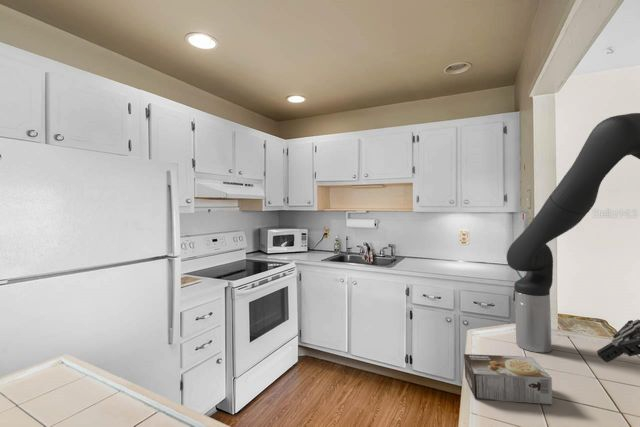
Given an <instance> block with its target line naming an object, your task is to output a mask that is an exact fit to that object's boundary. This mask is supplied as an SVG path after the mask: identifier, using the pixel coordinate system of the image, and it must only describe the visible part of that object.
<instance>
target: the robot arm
mask: <svg viewBox="0 0 640 427" xmlns="http://www.w3.org/2000/svg"><path fill="white" fill-rule="evenodd" d="M626 156H633V157H634V158H637V159H638V160H640V112H634V113H633V112H632V113H625V114H618V115H614V116H610V117H607V118H605V119H603V120H602V121H600V122H599V123H597V125H595V127H594V128H592V131H591V132H590V133H589V135H588V137H587V139H586V141H585V142H584V144H583V145H582V147H581V150H580V151H579V153H578V155H577V157H576V159H575V160H574V162H573V163H572V165H571V166H570V167H569V169H568V171H567V172H565V175H564V176H563V178H562V179H561V180H560V181H559V183H558V185H557V186H556V187H555V189H554V190H553V191H552V192H551V194H550V195H549V196H548V197H547V199H546V200H545V201H544V203H543V205H542V206H541V208H540V209H539V210H538V213H537V214H536V215H535V216H534V217H533V219H532V220H531V222H530V223H529V224H528V226H527V227H526V228H525V229H524V230H523V231H522V232H521V234H520V235H519V236H518V237H517V238H516V239H515V240H514V241H513V242H512V244H510V246H509V247H508V250H507V253H506V262H507V265H508V266H509V267H510V268H511V269H512V270H514V271H516V272H517V271H518V272H526V273H525V275H524V276H523V277H521V278H519V279H518V280H516V281H515V282H514V284H513V286H514V287H513V288H514V306H515V308H514V309H515V310H514V312H515V314H514V315H515V341H516V342H515V344H516V345H517V346H518V347H519V348H521V349H524V350H527V351H530V352H535V353H544V354H545V353H549V352H552V349H553V348H552V320H551V319H552V317H551V314H552V313H551V312H552V311H551V293H550V292H551V288H552V285H553V280H554V278H553V276H554V274H553V273H554V257H553V252H552V249H551V248H550V246H549V245H548V243H549V242H551V241H553V240H554V239H556V238H558V237H559V236H561V235H563V234H566V232H568V231H570V230H572V229H573V228H574V227H576V226H577V225H578V224H580V223H581V221H582V220H583V219H584V218H585V216H587V214H588V213H590V211H591V210H592V209H593V206H594V205H595V204H596V201H597V198H598V194H599V190H600V186H601V183H602V182H603V180H604V179H605V177H606V176H607V175H608V174H609V173H610V172H611V170H613V168H614V167H615V166H616V165H617V164H619V163H620V161H621V160H622V159H624V158H625V157H626ZM612 338H613V339H611V341H610V342H609V343H608V344H606V345H604V346H603V347H601V348H600V349H598V350H596V353H597V356H598V357H599V358H600V359H601V360H602V361H603V362H606V363H610V362H612V361H613V360H615V359H616V358H618V357H620V356H622V355H627V356H628V357H634V356H638V355H640V319H635V320H633V319H632V320H628V321H627V322H626V323H625V324H624V325H623V326H622V327H621V328H620V329H619V330H618V331H617V332H616V333H615V334H614V335H613V337H612Z"/></svg>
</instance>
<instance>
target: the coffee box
mask: <svg viewBox="0 0 640 427" xmlns="http://www.w3.org/2000/svg"><path fill="white" fill-rule="evenodd" d="M463 359H464V360H463V361H464V364H463V366H464V377H465V379H466V382H467V384H468V387H469V389H470V391H471V392H472V395H473V398H474V399H475V400H484V401H485V400H488V401H501V402H502V401H503V402H517V403H529V404H530V403H531V404H545V405H552V404H553V385H552V382H553V381H552V380H553V379H552V376H551V375H550V374H549V373H548V372H547V371H546V370H545V369H544V368H543V367H542V366H541V364H540V363H538V362H537V360H536V359H535V358H534V357H533V356H523V355H521V356H520V355H519V356H518V355H514V356H513V355H492V354H469V353H464V354H463Z"/></svg>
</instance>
